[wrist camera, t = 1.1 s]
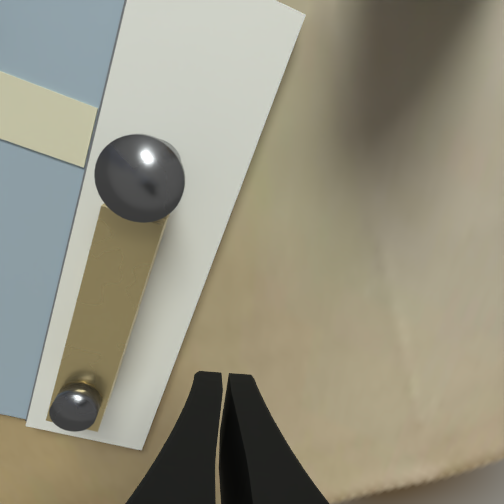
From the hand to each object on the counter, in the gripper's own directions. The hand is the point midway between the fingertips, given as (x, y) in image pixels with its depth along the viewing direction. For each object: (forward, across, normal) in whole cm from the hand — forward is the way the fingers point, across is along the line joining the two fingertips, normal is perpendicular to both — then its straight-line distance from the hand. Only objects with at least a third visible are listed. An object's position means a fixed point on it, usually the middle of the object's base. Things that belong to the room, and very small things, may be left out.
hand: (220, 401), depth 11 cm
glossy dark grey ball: (+8, +3, -5) cm, 10 cm away
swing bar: (+7, +5, +1) cm, 8 cm away
